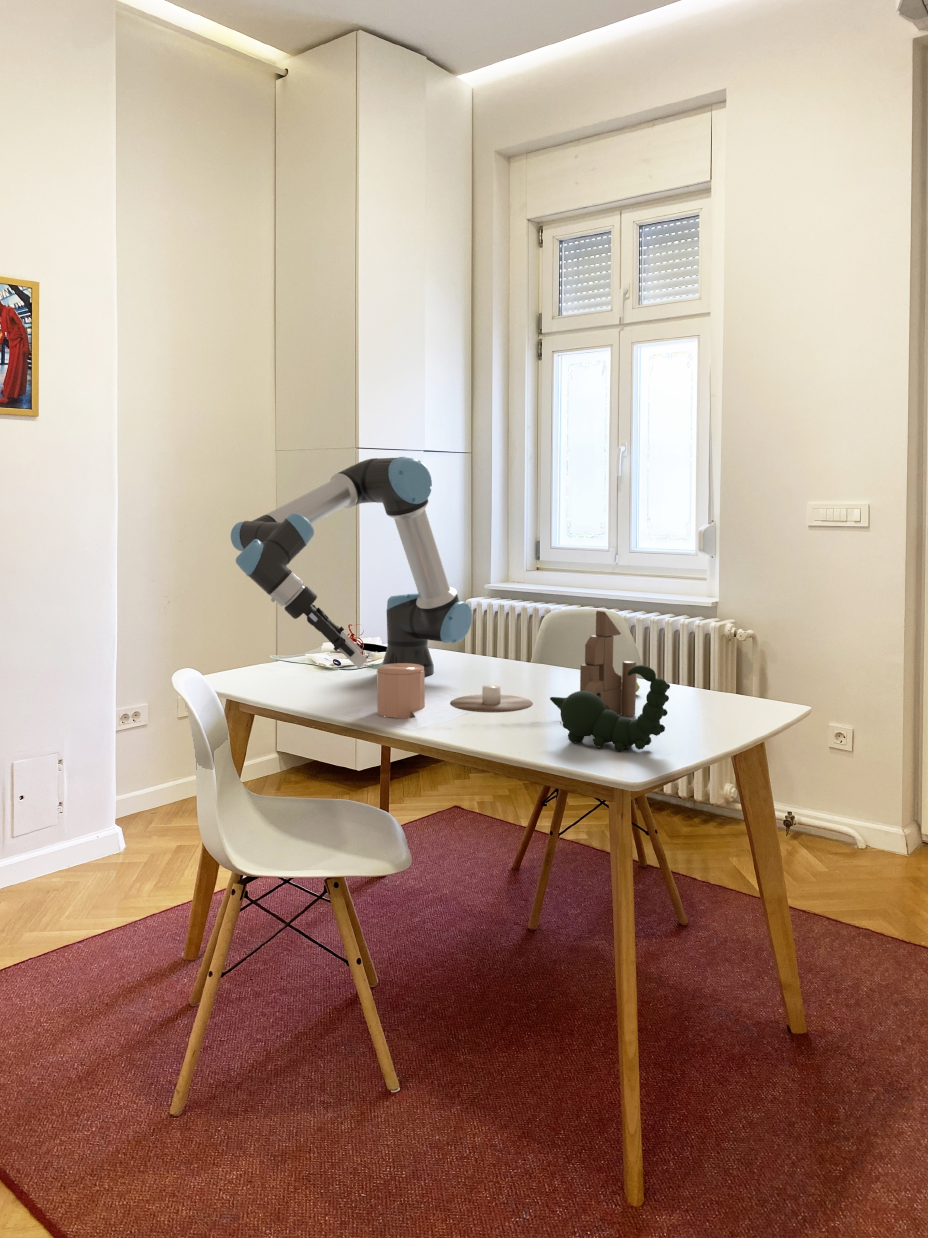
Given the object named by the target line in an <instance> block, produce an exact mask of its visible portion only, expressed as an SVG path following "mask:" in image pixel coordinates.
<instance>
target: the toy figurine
mask: <svg viewBox="0 0 928 1238" xmlns="http://www.w3.org/2000/svg"><path fill="white" fill-rule="evenodd" d="M632 674H636V675H638V676H639V675H640V676H641V677H642V678H643V679H644V680H645V681H647V682H648V683H649V682H650V685H649V691H648V693H647V694H646V696H645V697H646V702H645V703H644V704H643V707H642V710H641V711H642V713H640V714H639V715H638V717H637V718H635V719H631V718H630V717H626V716H622V717H621V715H620V714H619V715H618V714H617V713H616V712H614V711H612V710H609V709H606V707H605V704H604V702H603V701H602V700H601V698H600V697H598V696H597V695H595V694H594V693H592V692H589V691H580V690H579V691H575V692H572V693H570V694H568V696H567V697H559V696H550V697H549V700H550V701H551V702H552V703H553V704H554V705H555V706H556V707H557V708H558V709H559V710H560V718H561V723H562V727H563V728H564V729H565V730H567V731H568V734H567V739H568V740H569V742H571V743H573V744H580V743H582V742H583V741H584V739H585V737H591V736H593V739H592V743H593V745H594V746H595V748H596V747H597V748H602V747H604V746H605V744H608V743H612V744H613V745H614V746H613V748H614V749H615V751H616V752H618V753H621V752H624V749H625V748H630V747H632V746H633V745H634V748H636V749H637V750H643V749H644V748H645V747H646V746H649V745H651V743H652V738H651V735H653V736H655V737H657V736H660V735H661V734H663V733H664V732H666V727H665V725H663V724H661V720H662V718H663V717H666V716H667V715H668V710H667V708H664V705H665V704H666V703H668V701H670V700H669V699H670V698H669V695H667V694H666V693H667V691H668V690H670V688H671V686H670V685H671V684H670V683H667V681H666V680H665V679H663V678H660V677H659V678H658V677H657V674H656V672H655V670H654V669H653V668H652V667H649V666H647V665H643V664H640V665H638V664H636V666H634V667H633V668H631V669H630V670H629V671H628V675H629V676H630V675H632Z"/></svg>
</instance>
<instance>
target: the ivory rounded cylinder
mask: <svg viewBox="0 0 928 1238" xmlns="http://www.w3.org/2000/svg"><path fill="white" fill-rule="evenodd" d="M481 687H482V688H481V689H482V691H481V692H482V693H481V694H482V703H483V704H486V705H497V704H500V703H501V695H502V694H501V688H502V686H501V685H497V684H483V685H482V686H481Z"/></svg>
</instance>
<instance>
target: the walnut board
mask: <svg viewBox="0 0 928 1238" xmlns="http://www.w3.org/2000/svg"><path fill="white" fill-rule="evenodd" d="M449 702H450V703H449V704H450V706H452V707H453V708H455V709H458V710H462V711H468V712H476V713H509V712H511V713H512V712H517V711H522V710H526V709H529V708H530V707H532V706H533V705H534V702H533V701H532V700H530V699H529V698H525V697H523V696H522V697H521V696H517V695H511V694H501V703H500V704H497V705H486V704H483V703H482V693H481V694H473V695H472V694H469V695H465V696H464V695H463V696H460V697H456V698H454V699H452V700H450V701H449Z"/></svg>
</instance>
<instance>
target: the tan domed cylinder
mask: <svg viewBox="0 0 928 1238" xmlns="http://www.w3.org/2000/svg"><path fill="white" fill-rule="evenodd" d="M425 677H426V676H425V671H424V666H422V665H419V664H411V663H393V664H385V665H382V664H380V665H378V666H377V668H376V705H377V706H376V707H377V708H376V710H377V712H378V713H377V715H378V716H380V715H381V717H383V716H385V717H384V718H387V717H394V718H393V719H412V718H416V716H415V714H414V712H416V711H420V710H423V709H425V707H426V704H425V703H426V701H425V699H426V697H425V696H426V693H425V691H426V688H425V687H426V685H425ZM411 717H412V718H411Z"/></svg>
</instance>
